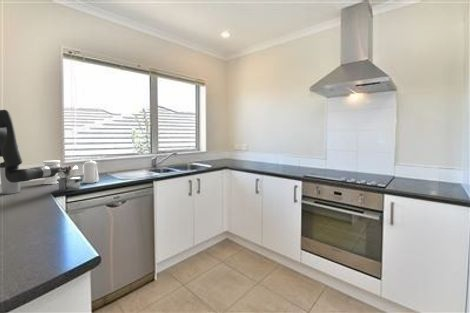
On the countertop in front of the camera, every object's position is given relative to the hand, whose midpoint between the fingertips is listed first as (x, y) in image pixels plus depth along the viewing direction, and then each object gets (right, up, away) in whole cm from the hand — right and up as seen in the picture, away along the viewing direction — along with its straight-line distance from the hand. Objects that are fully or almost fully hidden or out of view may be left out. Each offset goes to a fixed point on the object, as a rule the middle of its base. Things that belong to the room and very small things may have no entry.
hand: (67, 168), depth 166 cm
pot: (0, -15, +3) cm, 15 cm away
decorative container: (-29, -13, +25) cm, 40 cm away
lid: (0, -3, +1) cm, 3 cm away
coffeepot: (0, -13, +29) cm, 32 cm away
